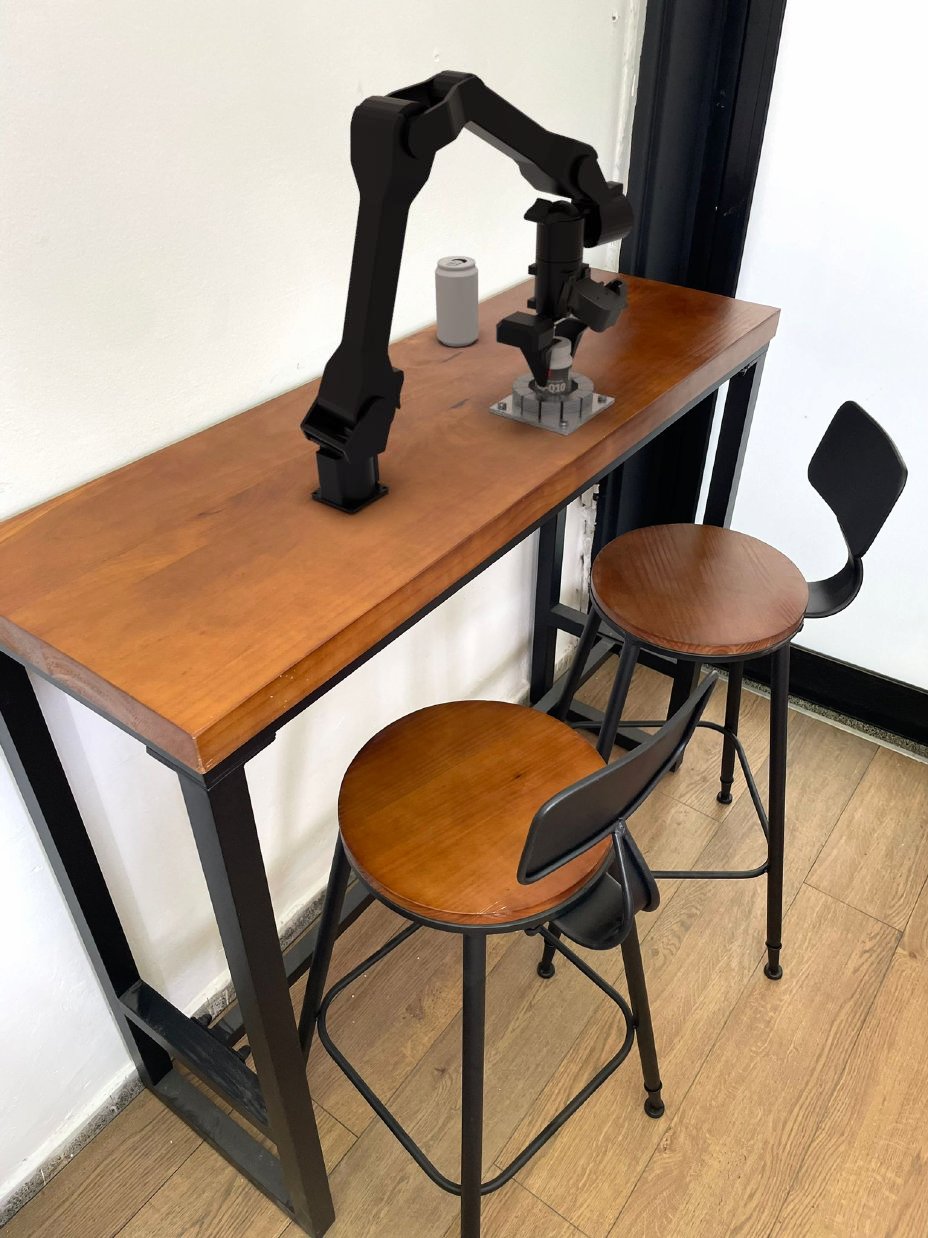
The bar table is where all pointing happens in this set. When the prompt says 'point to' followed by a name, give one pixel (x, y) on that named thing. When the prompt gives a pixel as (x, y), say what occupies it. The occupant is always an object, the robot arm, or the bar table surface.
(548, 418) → the socket
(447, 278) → the beverage can
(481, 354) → the bar table surface
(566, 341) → the pill bottle
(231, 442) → the bar table surface
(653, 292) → the bar table surface
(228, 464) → the bar table surface
